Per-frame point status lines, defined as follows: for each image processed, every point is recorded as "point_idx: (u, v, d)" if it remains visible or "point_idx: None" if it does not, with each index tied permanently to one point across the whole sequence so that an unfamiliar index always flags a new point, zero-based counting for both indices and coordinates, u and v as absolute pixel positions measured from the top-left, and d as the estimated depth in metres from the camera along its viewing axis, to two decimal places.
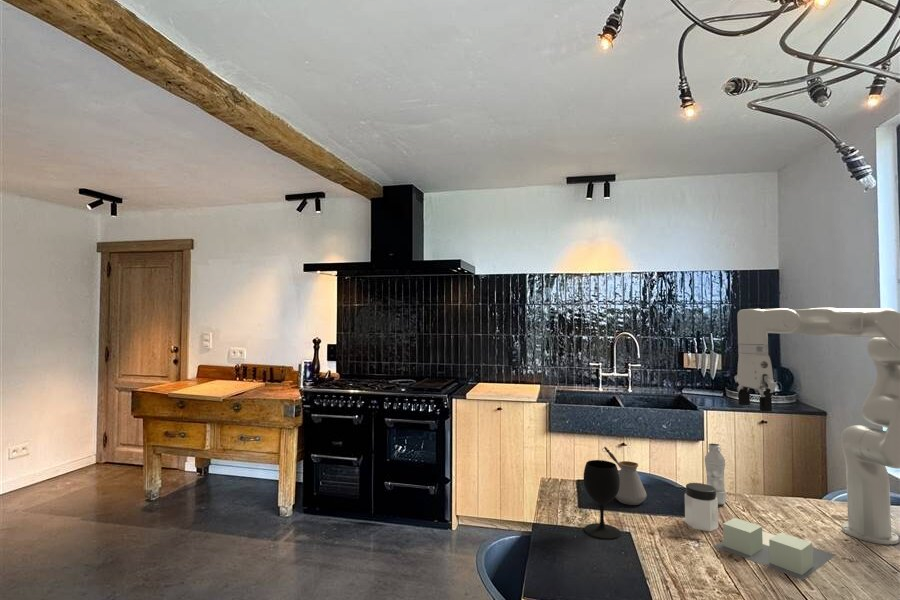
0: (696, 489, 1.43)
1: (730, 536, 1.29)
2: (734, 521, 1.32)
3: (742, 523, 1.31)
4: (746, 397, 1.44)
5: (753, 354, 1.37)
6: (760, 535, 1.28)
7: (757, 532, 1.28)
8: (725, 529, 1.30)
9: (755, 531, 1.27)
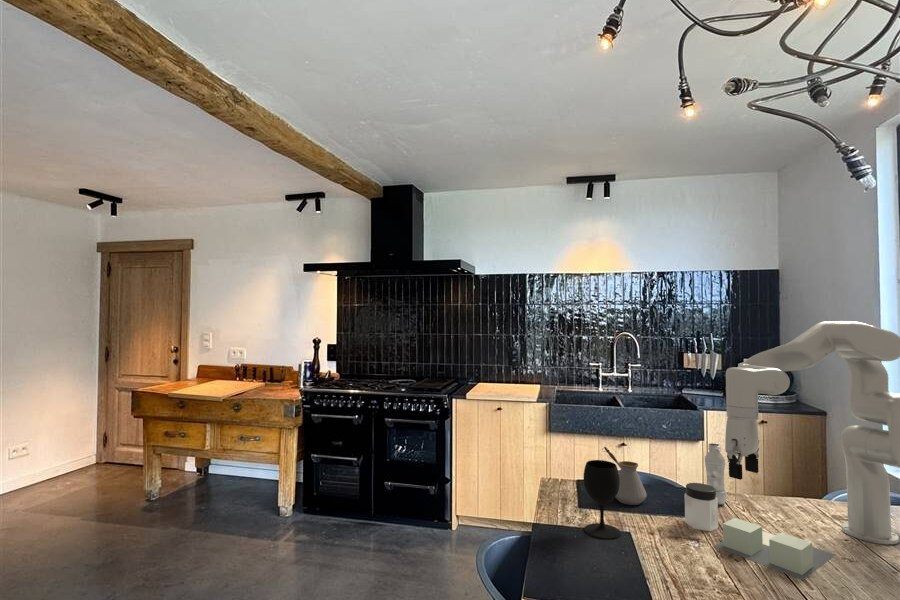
0: (696, 489, 1.43)
1: (730, 536, 1.29)
2: (734, 521, 1.32)
3: (742, 523, 1.31)
4: None
5: None
6: (760, 535, 1.28)
7: (757, 532, 1.28)
8: (725, 529, 1.30)
9: (755, 531, 1.27)
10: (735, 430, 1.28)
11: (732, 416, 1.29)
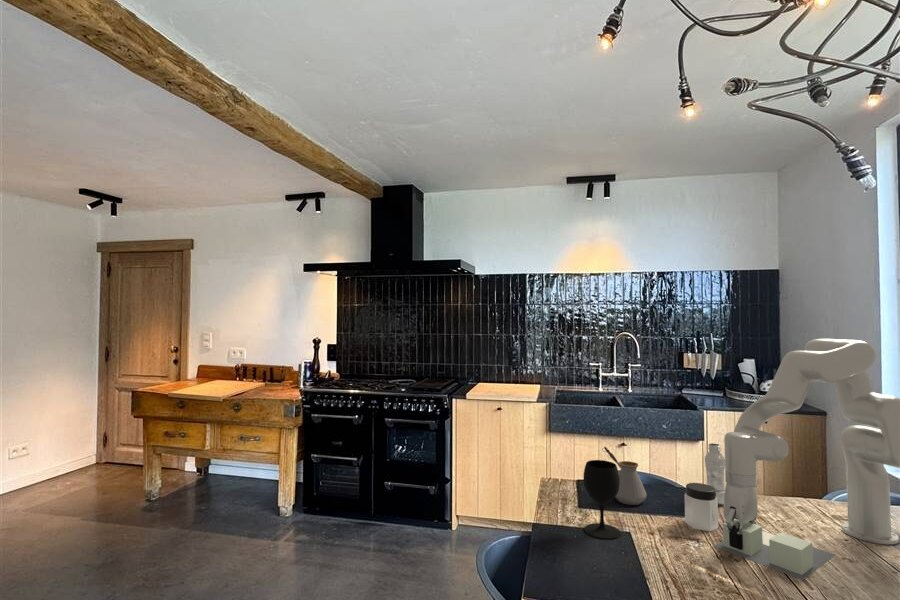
0: (696, 489, 1.43)
1: None
2: None
3: None
4: None
5: None
6: (760, 535, 1.28)
7: (757, 532, 1.28)
8: (725, 529, 1.30)
9: (755, 531, 1.27)
10: (733, 497, 1.28)
11: (730, 483, 1.29)
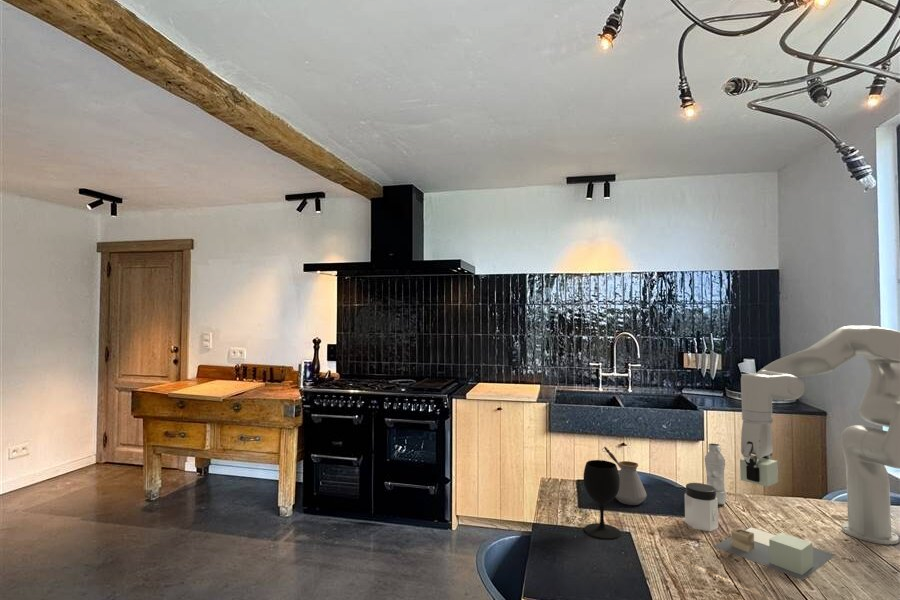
0: (696, 489, 1.43)
1: None
2: None
3: None
4: None
5: None
6: (776, 469, 1.35)
7: (773, 465, 1.34)
8: (742, 464, 1.37)
9: (771, 464, 1.34)
10: (750, 433, 1.35)
11: (747, 420, 1.36)
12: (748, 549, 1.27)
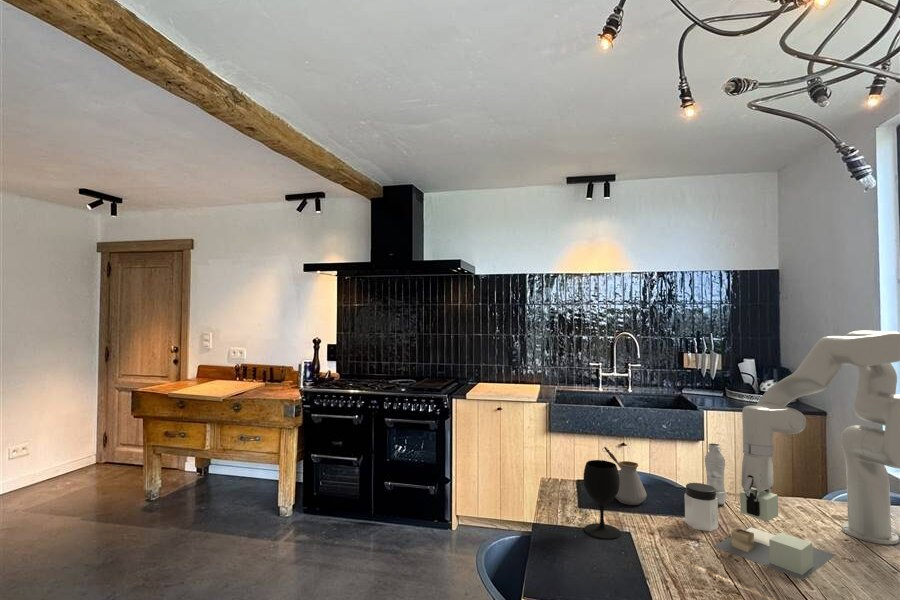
0: (696, 489, 1.43)
1: None
2: None
3: None
4: None
5: None
6: (776, 503, 1.35)
7: (773, 499, 1.34)
8: (743, 498, 1.37)
9: (771, 498, 1.33)
10: (751, 466, 1.34)
11: (748, 453, 1.36)
12: (748, 549, 1.27)
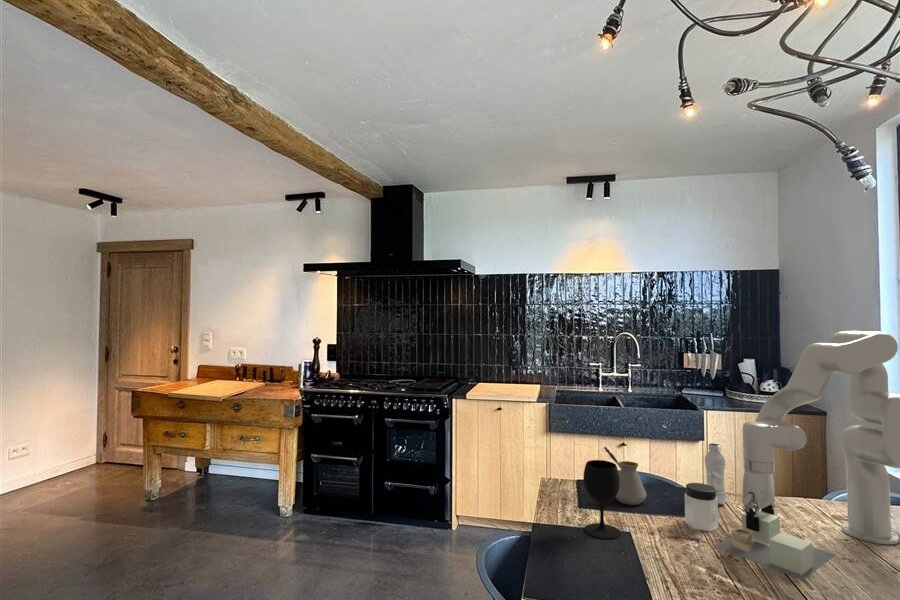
0: (696, 489, 1.43)
1: None
2: None
3: (760, 514, 1.37)
4: None
5: None
6: (778, 525, 1.35)
7: (775, 521, 1.34)
8: (744, 520, 1.36)
9: (773, 521, 1.33)
10: (752, 483, 1.34)
11: (749, 470, 1.36)
12: (748, 549, 1.27)
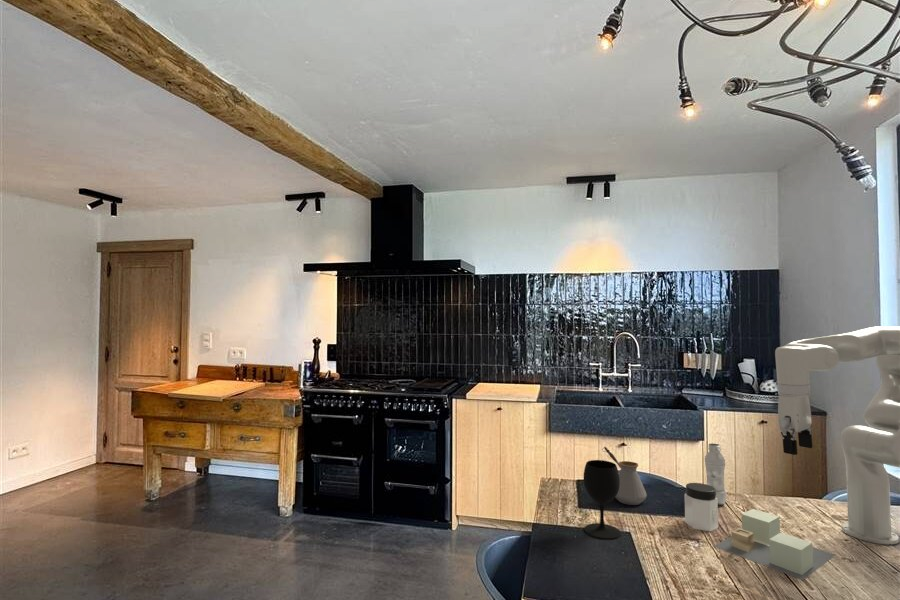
0: (696, 489, 1.43)
1: (749, 526, 1.35)
2: (752, 512, 1.39)
3: (760, 514, 1.37)
4: None
5: None
6: (778, 525, 1.35)
7: (775, 521, 1.34)
8: (744, 520, 1.36)
9: (773, 521, 1.33)
10: (787, 407, 1.31)
11: (784, 394, 1.33)
12: (748, 549, 1.27)
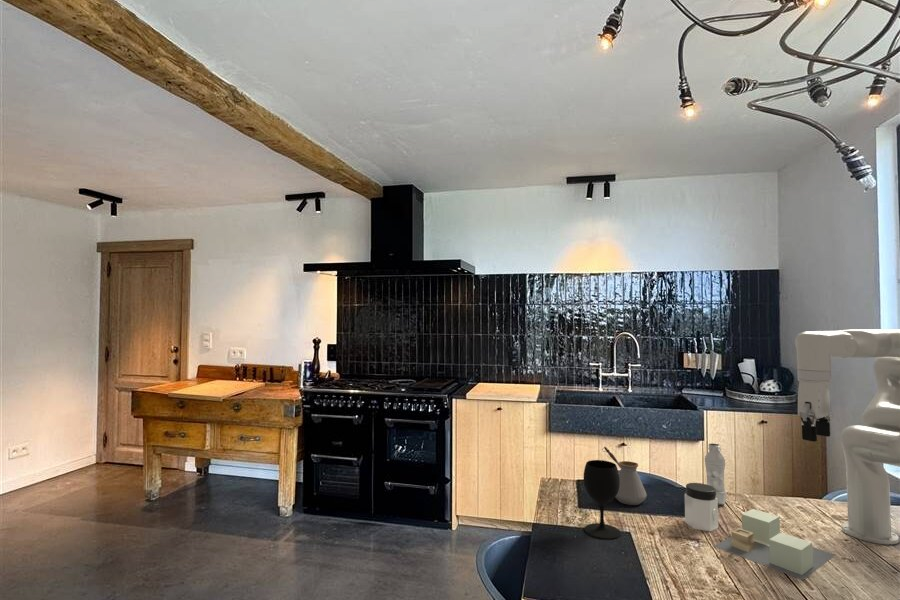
0: (696, 489, 1.43)
1: (749, 526, 1.35)
2: (752, 512, 1.39)
3: (760, 514, 1.37)
4: None
5: None
6: (778, 525, 1.35)
7: (775, 521, 1.34)
8: (744, 520, 1.36)
9: (773, 521, 1.33)
10: (808, 393, 1.29)
11: (804, 380, 1.31)
12: (748, 549, 1.27)
